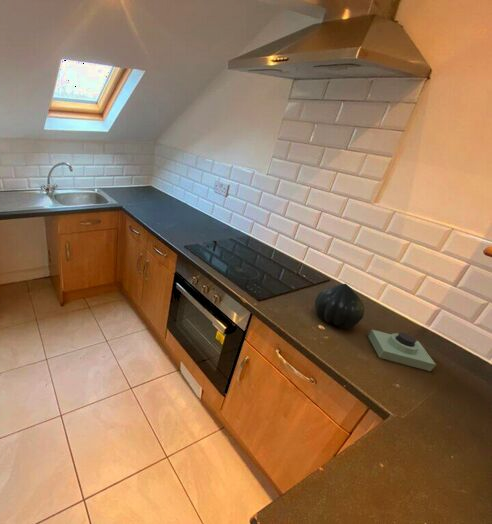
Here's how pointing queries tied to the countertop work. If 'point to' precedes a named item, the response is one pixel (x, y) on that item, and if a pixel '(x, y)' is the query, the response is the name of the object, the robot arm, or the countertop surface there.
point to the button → (406, 339)
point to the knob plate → (400, 351)
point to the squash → (339, 306)
